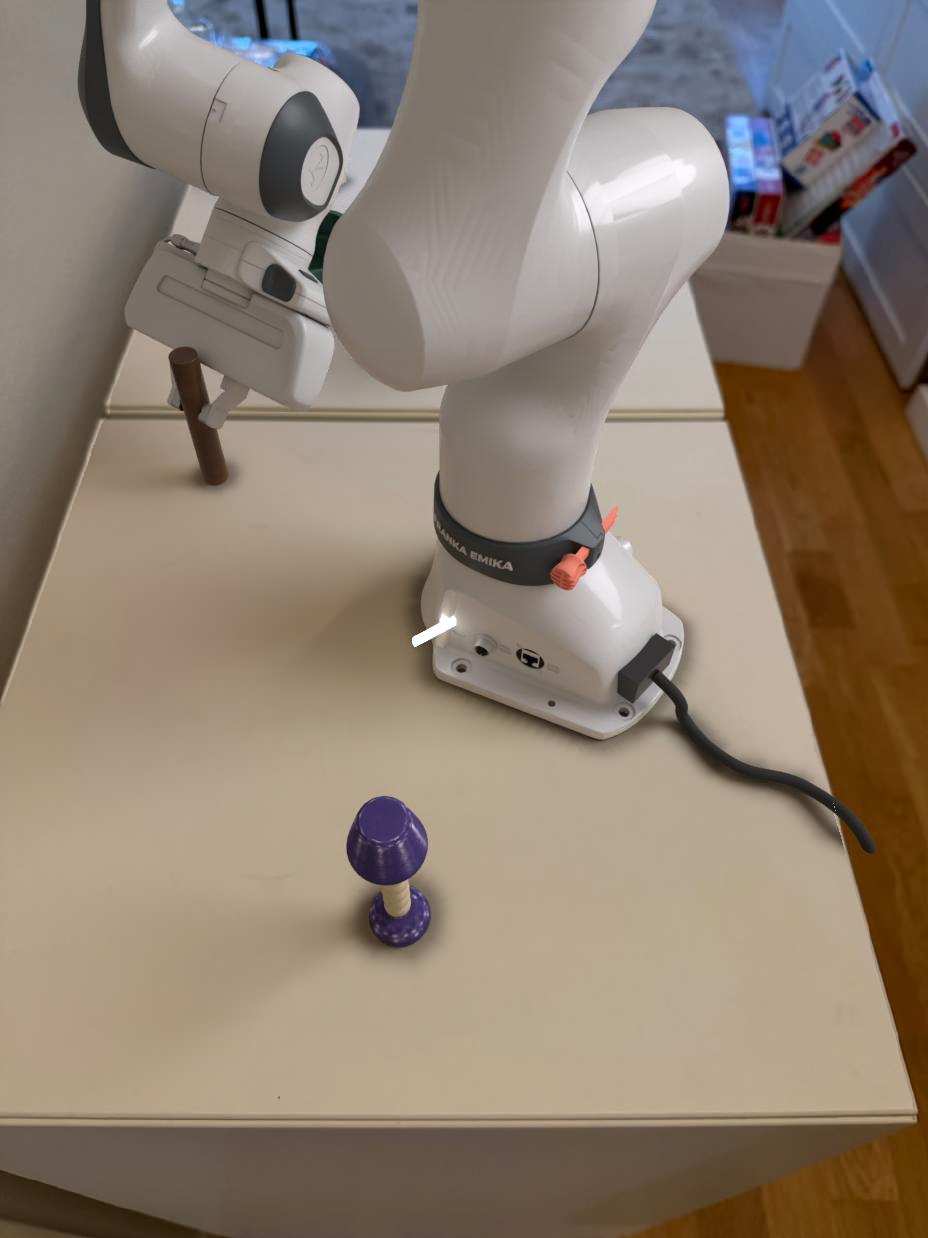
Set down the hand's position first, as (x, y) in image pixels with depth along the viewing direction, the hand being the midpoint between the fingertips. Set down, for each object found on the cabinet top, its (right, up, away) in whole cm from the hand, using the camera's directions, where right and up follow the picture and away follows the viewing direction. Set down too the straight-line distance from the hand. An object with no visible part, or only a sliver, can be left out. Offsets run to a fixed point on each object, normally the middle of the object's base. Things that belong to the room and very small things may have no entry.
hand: (193, 417), depth 82 cm
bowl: (+6, +21, +25) cm, 33 cm away
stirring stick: (0, -4, +7) cm, 8 cm away
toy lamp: (+19, -39, -19) cm, 47 cm away
